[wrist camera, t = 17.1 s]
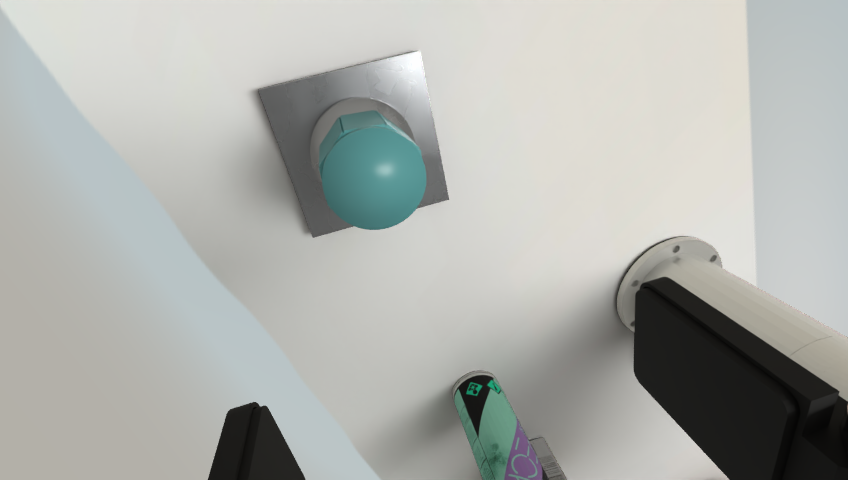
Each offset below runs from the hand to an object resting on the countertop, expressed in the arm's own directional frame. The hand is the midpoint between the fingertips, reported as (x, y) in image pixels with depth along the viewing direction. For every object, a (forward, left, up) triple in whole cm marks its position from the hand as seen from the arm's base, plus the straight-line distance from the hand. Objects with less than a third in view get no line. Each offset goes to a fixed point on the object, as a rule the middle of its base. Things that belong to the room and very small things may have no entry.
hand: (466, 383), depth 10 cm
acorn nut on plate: (0, 0, -27) cm, 27 cm away
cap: (0, 0, -24) cm, 24 cm away
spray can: (-30, -5, -27) cm, 40 cm away
